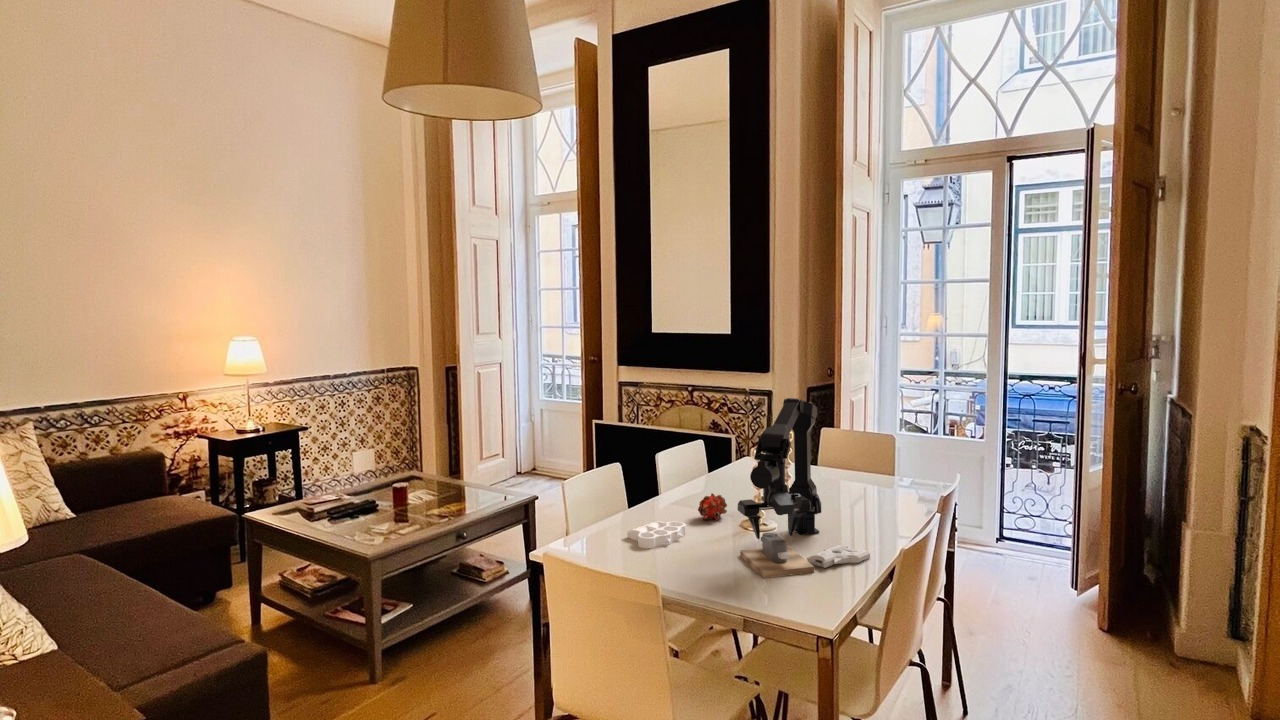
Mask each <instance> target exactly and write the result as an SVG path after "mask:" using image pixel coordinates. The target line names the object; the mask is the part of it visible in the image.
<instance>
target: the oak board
mask: <svg viewBox="0 0 1280 720" xmlns="http://www.w3.org/2000/svg"><path fill="white" fill-rule="evenodd" d="M787 553H789V554H790V558H789V559H787V562H786V563H783V564H777V563H774V562H772V561H771V560H770V559H769V558H767V557H766V556H765V555H764V554H763V553H762V547H761V548H759V547H758V548H753V549H752V548H750V549H742V550H740V552H739V554H740V557H741V558H742V559H744V561H745V562H746V563H747V564H748V565H749V566H750V567H751V568H752V569H753V570H754V571H756V573H757V574H759V576H760V577H762V578H763V579H766V578H767V579H768V578H775V577H783V576H784V575H785V576H791V575H790V574H794V575H801V574H800V573H803V574H809V573H811V574H812V573H815V565H813V564H811V563H809V562H808V560H807V558H805V557H803V556H802V555H800V553H798V552H797V551H796V550H794V549H793V548H791V546H789V545H787Z"/></svg>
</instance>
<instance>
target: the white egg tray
mask: <svg viewBox="0 0 1280 720" xmlns="http://www.w3.org/2000/svg"><path fill="white" fill-rule="evenodd" d="M686 527H687V525H686V523H684V522H682V521H669V522H668V521H667V522H666V521H665V522H664V521H661V520H654V521H653V522H651V523H650V522H649V523H647V524H644V525H641V526H639V527H637V528H633V529H630V530H628V531H627V533H626V535H627V537H628V538H629V539H630V538H631V539H630V540H633V539H634V541H637V546H638V547H639V548H641V547H642V548H641V549H647V548H650V549H655V548H657V547H662V546H668V545H671V544H672V543H676V542H679V541H680V540H681V539H682V538H685V536H686V535H687V528H686Z"/></svg>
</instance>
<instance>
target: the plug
mask: <svg viewBox="0 0 1280 720" xmlns="http://www.w3.org/2000/svg"><path fill="white" fill-rule="evenodd" d="M760 541H761V543H762V545H761V548H762V553H763V554H764V555H765V556H766V557H767V558H769V559H770V560H771V561H772V562H774V563H777V564H783V563H786V562H787V559H789V558H790V554H789V553H787V546H788V542H787V541H786V540H785V539H784V538H782V537H781V536H780V535H779V534H777V533H776V532H769V531H768V532H763V533H762V536H760Z"/></svg>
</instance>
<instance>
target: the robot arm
mask: <svg viewBox="0 0 1280 720" xmlns="http://www.w3.org/2000/svg"><path fill="white" fill-rule="evenodd" d="M817 417H818V407H817V405H815V404H814V403H813V402H811V401H804V400H803V399H801V398H795V397H793V398H792V397H788V398H784V400H783V403H782V407H781V410H780V411H779V413H778V414H777V417H776V419H775V420H774V422H773V424H772V425H771V426H768V427H766V428H765V429H764V430H763V432H762V433H761V435H760V436H759V437H758V440H757V445H756V449H755V453H754V457H753V459H754V460H758V461H757V466H755V467H754V468H753V469H752V470H751V472H750V474H749V475H750V476H749V478H750V481H751V483H752V484H753V485H754V486H755V488H756V489H762V490H763V491H762V495H761V501H762V502H756V501H754V500H753V499H743V500H741V499H740V500H739V501H738V502H737V511H738V512H739V513H740V514H742V515H743V516H744V517H747V519H748V521H749V522H750V524H751V527H752V530H753V532H754V535H755V537H756V539H757V540H761V533H760V532H761V531H760V530H761V529H760V519H761V516H760V515H759V513H760V511H766V510H774V512H775V514H776V515H778V516H783V515H787V531H788V535H789V536H790V537H792V536H793V534H794V532H795V533H797V534H798V535H812V534H819V533H820V530H819V529H817V528H816V523H815V522H816V520H815V519H816V515H818V514H821V513H822V502H821V499H820V496H819V494H818V490H817V489H818V488H817V485H816V484H815V482H814V481H813V480H812V477H811V476H812V471H811V469H812V467H811V466H812V465H811V430H812V428H813V426H814V425H815V423H816V421H817V420H816V418H817ZM791 431H792V432H793V447H794V448H793V452H794V458H793V459H794V481H793V482H792V483H791V485H790V487H788V485H787V484H786V459H788V458H789V454H790V451H791V447H792V442H791V440H790V437H789V436H790V434H791Z"/></svg>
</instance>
